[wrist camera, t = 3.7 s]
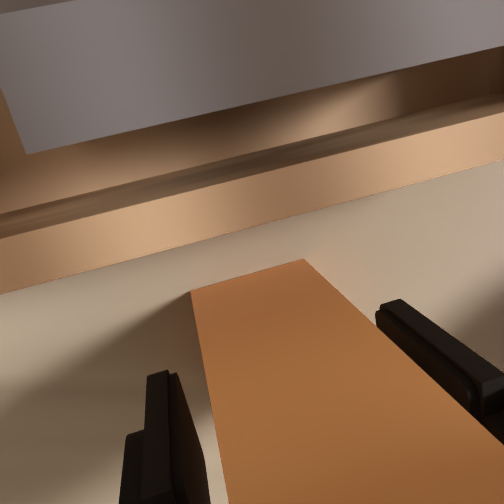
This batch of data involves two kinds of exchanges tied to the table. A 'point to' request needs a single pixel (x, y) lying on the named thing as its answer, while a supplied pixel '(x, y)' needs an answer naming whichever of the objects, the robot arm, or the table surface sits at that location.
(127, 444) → the robot arm
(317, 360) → the block
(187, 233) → the oak box
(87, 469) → the table surface
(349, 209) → the table surface
